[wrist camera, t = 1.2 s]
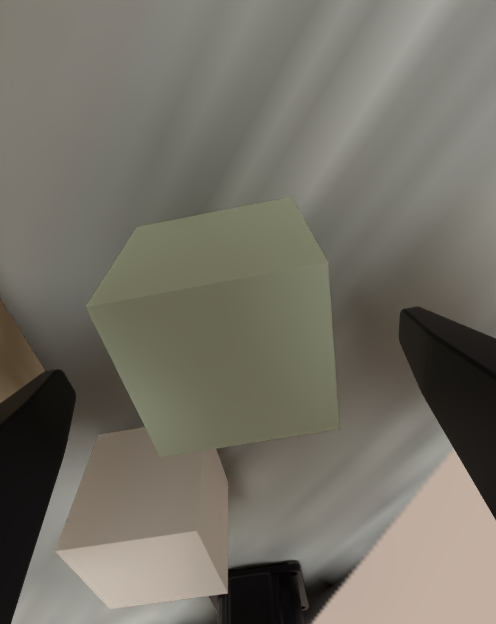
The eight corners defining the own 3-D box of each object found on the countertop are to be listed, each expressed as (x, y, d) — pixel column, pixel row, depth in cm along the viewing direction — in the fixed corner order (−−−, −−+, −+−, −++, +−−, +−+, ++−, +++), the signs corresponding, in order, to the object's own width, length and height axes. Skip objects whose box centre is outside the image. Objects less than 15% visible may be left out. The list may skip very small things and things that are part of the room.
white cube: (227, 480, 19) (227, 593, 15) (136, 494, 19) (110, 608, 15) (205, 415, 16) (196, 530, 12) (98, 433, 17) (55, 551, 13)
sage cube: (306, 325, 14) (339, 429, 10) (180, 347, 14) (160, 457, 10) (291, 195, 11) (328, 262, 7) (137, 226, 12) (85, 306, 7)
